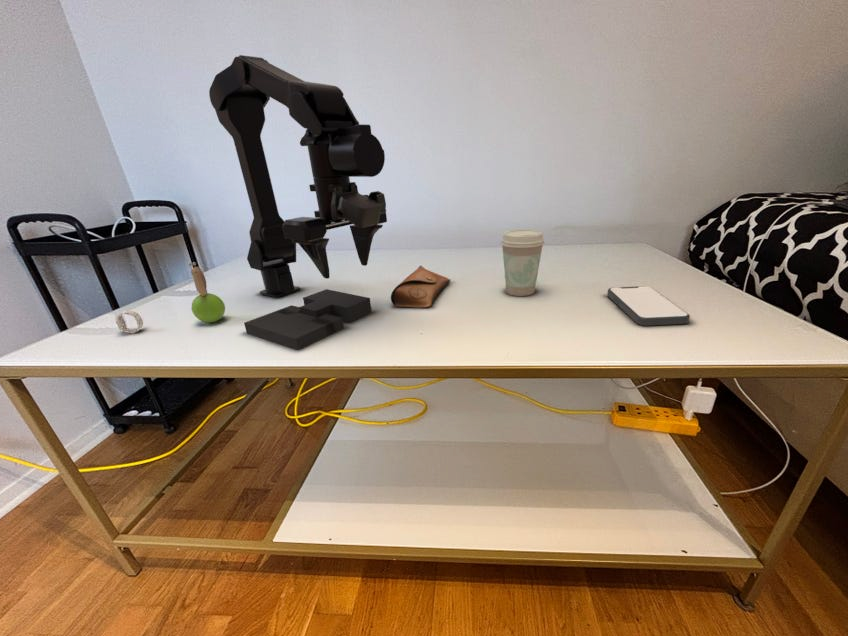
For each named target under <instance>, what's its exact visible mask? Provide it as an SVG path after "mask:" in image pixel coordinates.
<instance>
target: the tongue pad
mask: <svg viewBox="0 0 848 636" xmlns="http://www.w3.org/2000/svg"><path fill="white" fill-rule="evenodd" d="M302 301H303V305H301V306H299V307H300V311H301V313H302V314H306V315H310V316H314V317H320V316H322V315H325V314H329V315H333V316H337V317H341V318H343V323H347V324H350V323H353V322H355V321H357V320H360V319H362V318H363V317H366V316H368V315H369V314H371V313H373V311H372V303H371V298H370V297H367V296H363V295H357V294H352V293H347V292H343V291H337V290H334V289H333V290H332V289H329V288H326V289H323V290H320V291H318V292H315V293H312V294H309V295H306V296H304V297H302Z"/></svg>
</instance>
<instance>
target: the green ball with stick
mask: <svg viewBox="0 0 848 636" xmlns="http://www.w3.org/2000/svg"><path fill="white" fill-rule="evenodd" d="M196 265H197V262H195V261H193V262H188V263H187V266H189V267H190V273H191V276H192V279H193V284H194V286H195V289H196V291H197V293H198V294H199V295H197V296H196V297H195V298H193V300H192V302H191V311H192V314H193V315H194V317H195V318H196V319H198V320H199V321H201V322H202V323H203V322H204V323H216V322H218V321H219V320H221V319H222V318H223V317H224V315H225V312H226V306H225V302H224V301H223V300H222V299H221V297H220V296H218V295H217V294H214V293H208V289H207V288H208V287H207V280H206V276H205V274H204V271H202V269H201V268H200V267H199V266H196ZM192 266H194V267H193V268H192Z"/></svg>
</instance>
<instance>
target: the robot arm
mask: <svg viewBox="0 0 848 636" xmlns="http://www.w3.org/2000/svg"><path fill="white" fill-rule="evenodd" d="M208 93H209V94H208V95H209V100H210V101H209V102H210V103H211V106H212V107H213V109H214V110H215V114H216V117H217V119H218V122H219V124H221V126H222V127H223V128H224V129H225V130H226V132H227V133H228V134H229V135H230V137H232V139H233V143H234V147H235V150H236V155H237V158H238V162H239V163H238V164H239V166H240V170H241V174H242V177H243V181H244V182H243V183H244V185H245V189H246V192H247V193H246V194H247V196H248V200H249V205H250V208H251V211H252V216H253V219H252V222H251V225H250V229H249V238H250V245H249V249H248V252H247V256H246V260H247V262H248V265H249V267H250V268H251V269H253V270H257V271H260V275H261V278H262V282H263V286H264V289H262V290H259V294H260V295H263V296H267V297H272V298H280V297H284V296H287V295H289V294H292V293H295V292H297V291H300V290H301V287H300V286H296V285H295V284H294V280H293V275H292V271H291V268H290V265H289V264H293V263H294V264H295V263H297V244H298V245H299V246H300V247H301V249H302V250H303V251H304V252H305V253H306V255H307V256H308V257H309V258H310V260H311V261H312V263H313V264H314V265H315V267H316V268H317V270H318V271H319V273H320V274H321V276H322V277H323V278H324V279H330V266H329V259H328V254H327V253H328V252H327V245H328V244H329V241H330V238H328V237H325V236H326V234H327V232H328V230H333V229H338V228H342V227H346V226H349V229H350V233H351V236H352V240H353V242H354V246H355V249H356V253H357V256H358V259H359V262H360V265H361V266H362V267H363V266H364V267H366V266H367V265H368V263H369V258H370V252H371V247H372V242H373V239H374V236H375V234H377V232H378V231H380V229H382V228H383V226H384V223H387V222H388V218H387V209H386V208H387V203H386V197H385V193H384V192H382V191H379V190H376V191H370V193H369V194H361V193H360V192H359V190H358V189H359V188H358V185H357V184H356V181H351V180H350V179H351V178H353V177H354V178H358V177H359V178H374V177H376V176H378V175H379V174H381V172H382V170H383V168H384V166H385V160H386V158H385V157H386V155H385V149H384V148H383V146H382V144H381V142H380V141H379V139H378V138H377V137H376V136H375V135H374V134H373V133H372V126H371V125H370V124H360V122H359V120H358V119H357V118H356V115H355V114H354V112H353V110H352V109H351V107H350V106H349V103H348V101H347V100H346V98H345V97H344V92H343V90H342V89H341V88H340V87H338V85H337V86H336V85H332V84H326V83H320V82H319V83H318V82H311V81H305V80H303V79H301V78H299V77H297V76H295V75H293V74H291V73H289V72H287V71H285V70H283V69H281V68H280V67H278V66H275V65H274V64H271V63H270V62H269V61H268V60H267V59H265V58H263V57H260V56H259V57H258V56H250V55H243V54H239V55H238V56H235V57H234V58H233V60H232V62H231V64H230V65H229V66H227V67H226V68H225V69H223V70H221V71H220V72H219V73H217V74H215V76H214V78H213V80H212V83H211V85H210V87H209V91H208ZM271 99H273V100H274V101H276V102H277V103H280V104H282V105H283V106H284V107H286V108H287V109H288V114H289V116H290V117H291V118H292V119H293V121H295V122H296V123H297V124H298V125H299V126H301V127H302V128H303V129H305V133H304V135H303V136H302V137H301V138H300V141H299V145H300V147H307V151H308V157H309V163H310V168H311V173H312V179H313V183H312V184H308V186H309V191H310V192H315V196H316V202H317V207H318V210H314V211H313V213H314V217H313V216H311V217H309V216H299V217H294V218H288V219H285V220H284V219H283V218H282V217H281V216H280V213H279V209H278V205H277V201H276V196H275V192H274V188H273V183H272V179H271V175H270V171H269V166H268V163H267V157H266V155H265V149H264V146H263V141H262V137H261V136H262V132H263V129H264V125H265V123H266V114H265V107H266V106H267V104H268V103H269V101H270V100H271ZM350 177H351V178H350Z"/></svg>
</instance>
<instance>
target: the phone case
mask: <svg viewBox="0 0 848 636" xmlns="http://www.w3.org/2000/svg"><path fill="white" fill-rule="evenodd" d="M606 295H607V296H608V297H609V298H610V299H611V300H612V301H613V302H614V303H615V304H616V305H617V306H618V307H619V308H620V309H621V310H622V311H623V312H624V313H625V314H626V315H627V316H628V317H629V318H630V319H632V321H634V322H635V323H636V324H637V325H640V326H643V327H644V326H646V327H650V326H670V325H686V324H689V322H690V318H691V317H690V316H691V315H690V314H689V313H688V312H686V311H685V310H684V309H682V308H681V307H680V306H679V305H676V303H674V302H673V301H671V300H670V299H669V298H667V297H665V296H664V295H663V294H662V293H660V292H659V291H657V290H655V288H653V287H651V286H649V285H648V286H647V285H640V286H618V287H617V286H616V287H615V286H614V287H609V288H608V289H607V293H606Z"/></svg>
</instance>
